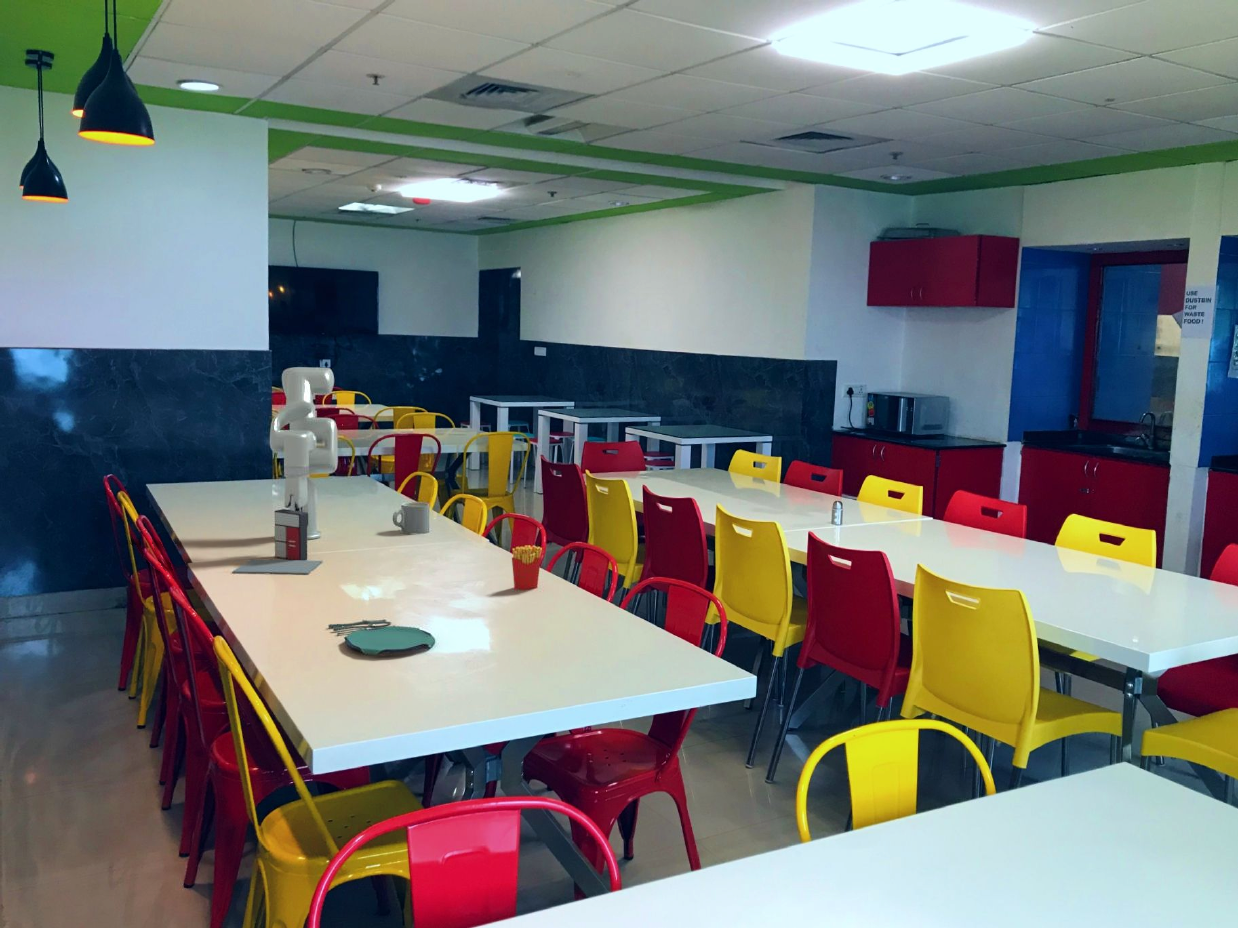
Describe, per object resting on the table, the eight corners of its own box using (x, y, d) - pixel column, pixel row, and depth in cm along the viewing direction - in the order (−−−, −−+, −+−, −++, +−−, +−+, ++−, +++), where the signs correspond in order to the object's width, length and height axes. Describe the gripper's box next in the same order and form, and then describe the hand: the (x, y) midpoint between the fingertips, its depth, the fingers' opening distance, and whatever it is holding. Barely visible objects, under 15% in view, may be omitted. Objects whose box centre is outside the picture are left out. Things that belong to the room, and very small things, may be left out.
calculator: (273, 557, 318) (272, 510, 316) (283, 555, 322) (282, 508, 320) (298, 562, 313) (298, 514, 311) (309, 559, 317) (308, 512, 315)
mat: (251, 560, 313) (250, 559, 313) (322, 562, 313) (322, 560, 313) (232, 573, 297) (232, 571, 297) (308, 574, 298) (308, 572, 298)
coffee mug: (426, 528, 372) (426, 501, 371) (432, 533, 363) (432, 505, 362) (389, 530, 367) (389, 502, 366) (394, 535, 358) (394, 507, 357)
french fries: (513, 590, 286) (514, 548, 284) (510, 586, 289) (510, 545, 288) (542, 588, 289) (543, 547, 287) (538, 584, 292) (539, 544, 291)
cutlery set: (362, 664, 220) (362, 653, 220) (319, 631, 244) (319, 622, 244) (447, 651, 231) (447, 641, 231) (397, 621, 256) (397, 612, 255)
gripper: (291, 468, 329) (292, 524, 331) (277, 474, 314) (278, 532, 316) (314, 469, 329) (315, 524, 331) (301, 474, 314) (302, 533, 316)
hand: (297, 528), depth 324 cm, fingers closed
